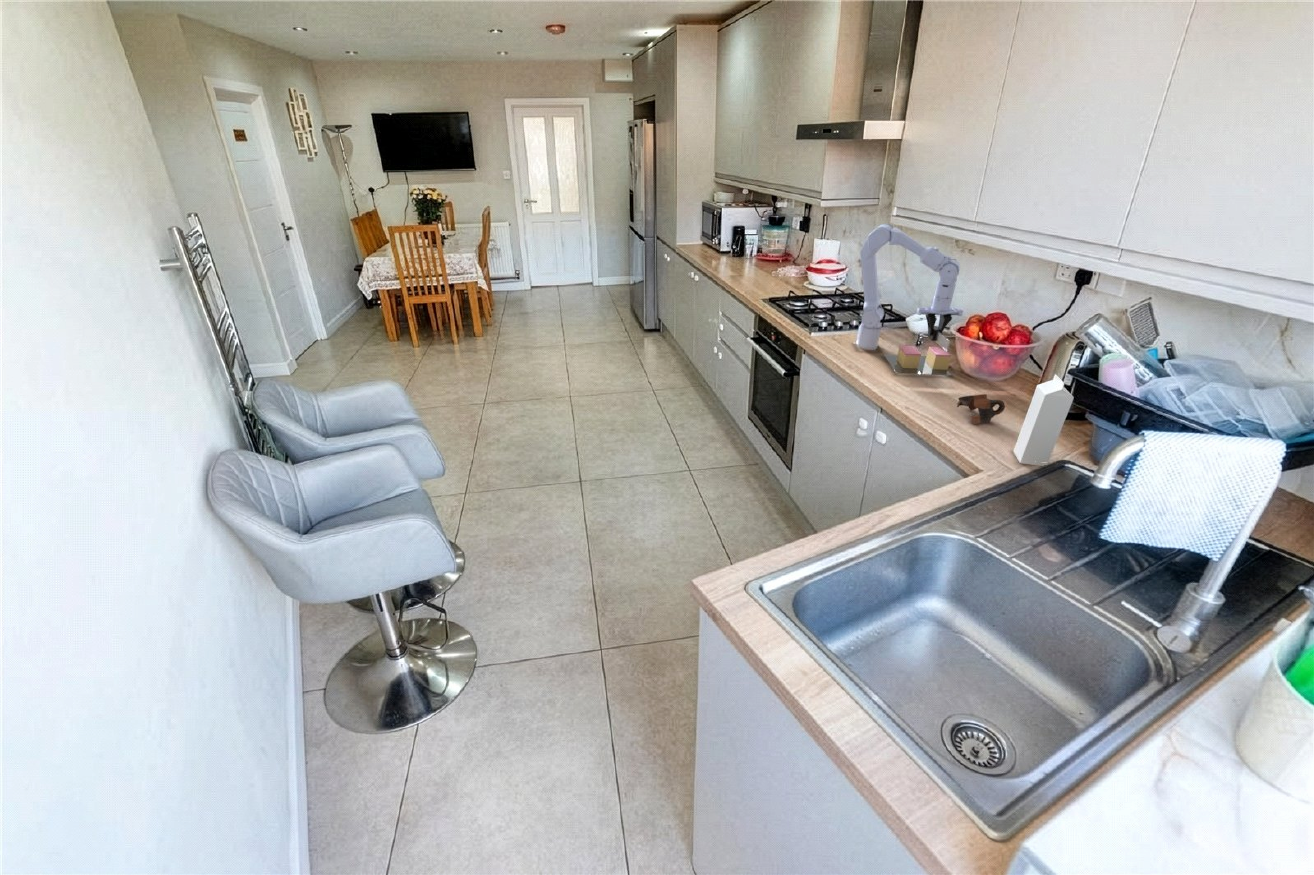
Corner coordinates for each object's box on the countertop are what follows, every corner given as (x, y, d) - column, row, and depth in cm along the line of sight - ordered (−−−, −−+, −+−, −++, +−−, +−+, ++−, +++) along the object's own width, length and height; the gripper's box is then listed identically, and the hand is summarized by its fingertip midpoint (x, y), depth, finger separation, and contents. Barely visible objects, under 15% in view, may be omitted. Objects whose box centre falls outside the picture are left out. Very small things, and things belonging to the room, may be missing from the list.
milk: (1038, 455, 144) (1069, 375, 133) (1046, 467, 139) (1080, 384, 128) (1012, 451, 145) (1041, 372, 134) (1019, 463, 140) (1050, 382, 129)
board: (882, 356, 205) (883, 354, 205) (934, 358, 204) (934, 356, 203) (895, 375, 190) (896, 373, 189) (951, 377, 188) (952, 375, 188)
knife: (927, 336, 202) (930, 325, 200) (934, 336, 202) (936, 325, 200) (943, 351, 187) (946, 340, 185) (951, 352, 187) (954, 340, 185)
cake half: (896, 359, 200) (899, 345, 198) (911, 360, 200) (914, 346, 197) (902, 368, 193) (906, 353, 191) (917, 368, 193) (921, 354, 190)
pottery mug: (961, 425, 159) (958, 396, 159) (955, 425, 168) (952, 398, 168) (1010, 420, 155) (1006, 390, 155) (1001, 420, 164) (998, 392, 164)
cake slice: (925, 360, 199) (928, 346, 197) (939, 361, 199) (943, 347, 196) (932, 369, 192) (936, 354, 190) (947, 369, 192) (951, 355, 189)
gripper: (924, 299, 190) (916, 337, 196) (969, 300, 188) (959, 339, 195) (918, 293, 196) (910, 331, 202) (962, 294, 194) (952, 332, 201)
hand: (933, 334), depth 199 cm, fingers closed on knife, 2 cm apart
